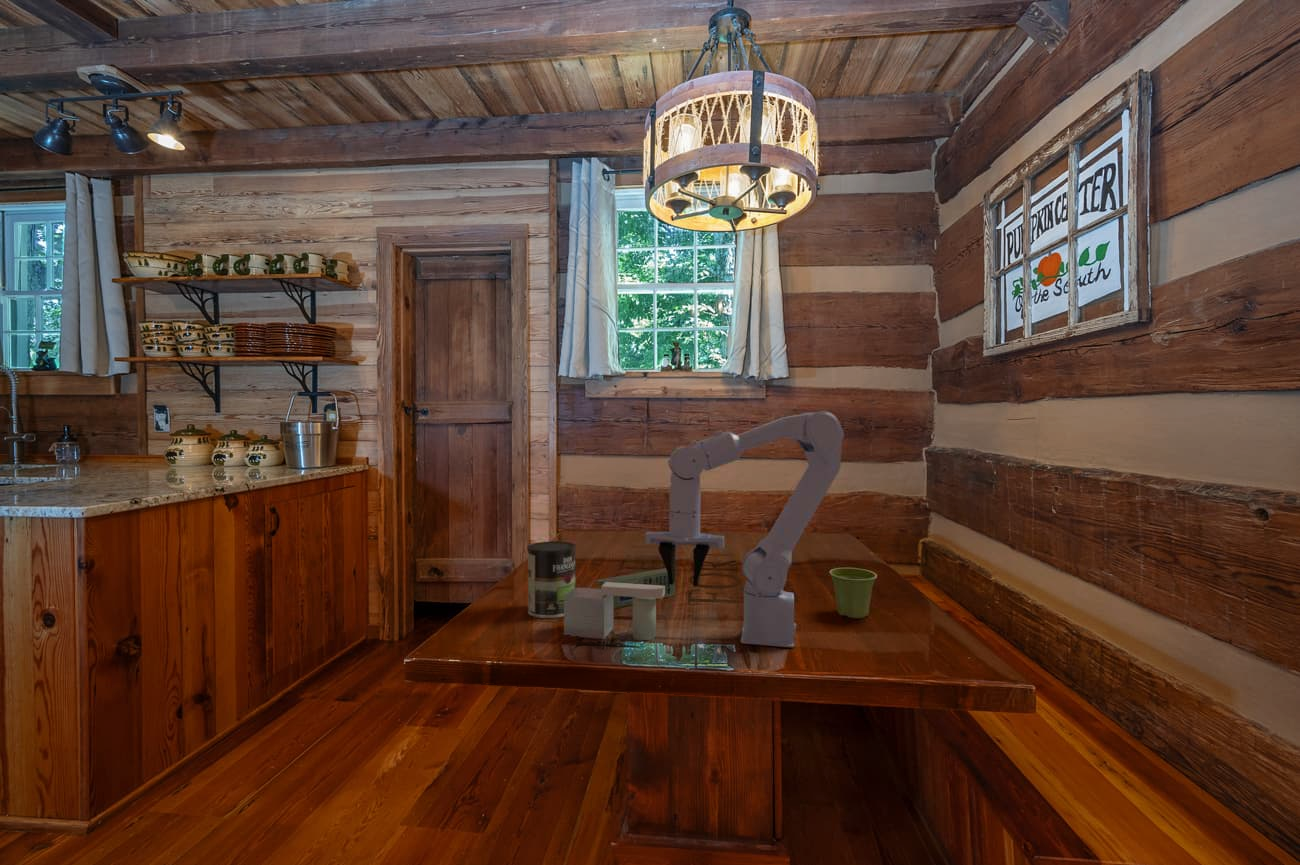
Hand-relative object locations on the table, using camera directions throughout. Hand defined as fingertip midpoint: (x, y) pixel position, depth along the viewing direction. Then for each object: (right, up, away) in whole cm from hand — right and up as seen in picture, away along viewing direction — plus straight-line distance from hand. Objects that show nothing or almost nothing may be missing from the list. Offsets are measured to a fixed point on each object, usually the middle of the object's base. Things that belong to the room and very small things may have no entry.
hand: (683, 584), depth 104 cm
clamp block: (-18, -10, +4) cm, 21 cm away
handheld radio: (-11, -11, +22) cm, 27 cm away
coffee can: (-27, -11, +17) cm, 34 cm away
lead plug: (-7, -10, +2) cm, 13 cm away
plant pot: (+37, -10, +14) cm, 41 cm away
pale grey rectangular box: (-9, -3, +2) cm, 10 cm away
